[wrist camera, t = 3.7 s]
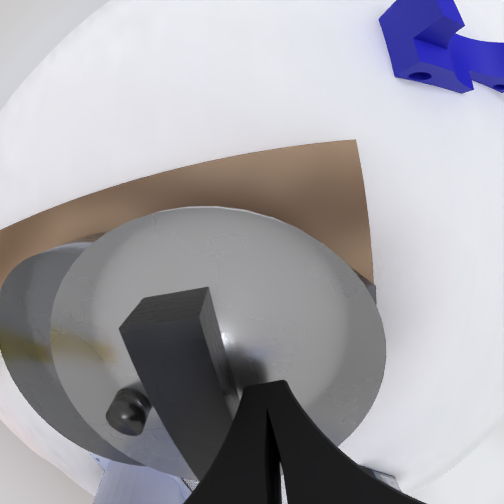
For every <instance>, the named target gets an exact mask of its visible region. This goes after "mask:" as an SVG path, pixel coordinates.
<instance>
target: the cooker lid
mask: <svg viewBox="0 0 504 504" xmlns="http://www.w3.org/2000/svg"><path fill="white" fill-rule="evenodd" d="M50 342H51V352H52V356H53V360H54V364H55V368H56V371H57V374H58V376H59V379H60V381H61V384H62V386H63V388H64V390H65V392H66V394H67V396H68V397H69V399H70V401H71V402H72V404H73V405H74V407H75V408H76V410H77V411H78V412H79V414H80V415H81V416H82V417H83V418H84V420H85V421H86V422H87V423H88V424H89V425H90V427H91V428H93V429H94V430H95V431H96V432H97V433H98V434H99V435H100V436H101V437H102V438H103V439H104V440H106V441H107V442H108V443H110V444H111V445H112V446H113V447H115V448H116V449H118V450H119V451H121V452H122V453H124V454H125V455H127V456H129V457H130V458H132V459H134V460H136V461H138V462H140V463H142V464H144V465H146V466H148V467H151V468H153V469H155V470H158V471H161V472H163V473H167V474H170V475H173V476H177V477H180V478H185V479H190V480H195V481H199V482H200V481H201V480H202V478H203V477H204V475H205V474H206V472H207V471H208V469H209V468H210V466H211V464H212V463H213V461H214V459H215V457H216V455H217V454H218V452H219V450H220V448H221V446H222V444H223V442H224V440H225V438H226V436H227V434H228V432H229V429H230V427H231V425H232V422H233V420H234V417H235V415H236V412H237V409H238V406H239V403H240V400H241V396H242V392H243V389H244V388H245V387H246V386H249V385H255V384H261V383H267V382H272V381H278V380H285V381H287V382H288V385H289V387H290V389H291V391H292V393H293V394H294V396H295V398H296V399H297V401H298V402H299V404H300V405H301V407H302V408H303V409H304V411H305V412H306V413H307V415H308V416H309V417H310V418H311V419H312V421H313V422H314V423H315V424H316V425H317V427H318V428H319V429H320V430H321V431H322V432H323V433H324V434H325V435H326V436H327V437H328V438H329V439H330V440H331V441H332V442H333V443H334V444H335V445H336V446H339V445H340V444H341V443H342V442H343V441H344V440H345V439H346V438H347V437H349V436H350V435H351V434H352V432H353V431H354V430H355V429H356V428H357V427H358V426H359V424H360V423H361V422H362V421H363V419H364V418H365V416H366V415H367V413H368V412H369V410H370V409H371V407H372V405H373V403H374V401H375V399H376V396H377V394H378V392H379V389H380V386H381V382H382V379H383V376H384V369H385V362H386V340H385V334H384V329H383V324H382V320H381V317H380V315H379V312H378V309H377V307H376V304H375V302H374V300H373V298H372V296H371V295H370V293H369V291H368V290H367V288H366V286H365V285H364V283H363V282H362V281H361V279H360V278H359V277H358V276H357V275H356V273H355V272H354V271H353V270H352V269H351V267H350V266H349V265H348V264H347V263H346V262H345V261H344V260H342V259H341V258H340V257H339V256H338V255H337V254H335V253H334V252H333V251H332V250H331V249H330V248H328V247H327V246H326V245H324V244H323V243H321V242H320V241H318V240H316V239H315V238H313V237H312V236H310V235H308V234H307V233H305V232H304V231H302V230H300V229H299V228H297V227H294V226H292V225H290V224H288V223H285V222H283V221H281V220H278V219H276V218H274V217H271V216H267V215H264V214H260V213H256V212H253V211H249V210H245V209H238V208H230V207H223V206H187V207H181V208H175V209H169V210H163V211H159V212H156V213H153V214H149V215H146V216H143V217H140V218H137V219H134V220H131V221H128V222H127V223H125V224H123V225H121V226H119V227H117V228H115V229H113V230H111V231H109V232H107V233H106V234H104V235H103V236H102V237H100V238H99V239H98V240H96V241H95V242H94V243H93V244H91V245H90V246H89V247H88V248H87V249H86V250H85V251H84V252H83V253H82V254H81V255H80V256H79V257H78V258H77V259H76V261H75V262H74V263H73V264H72V266H71V267H70V269H69V270H68V272H67V273H66V275H65V277H64V278H63V280H62V282H61V284H60V287H59V289H58V292H57V294H56V297H55V300H54V304H53V309H52V313H51V322H50ZM280 472H281V475H284V474H283V470H282V466H281V463H280Z"/></svg>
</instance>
